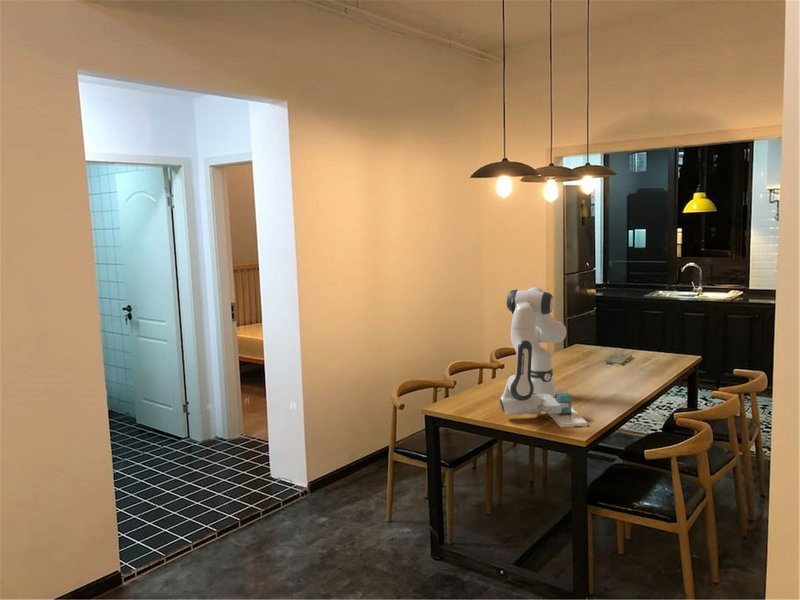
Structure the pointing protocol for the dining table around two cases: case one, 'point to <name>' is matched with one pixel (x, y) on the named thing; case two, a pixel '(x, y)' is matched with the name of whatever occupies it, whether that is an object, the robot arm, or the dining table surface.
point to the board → (568, 419)
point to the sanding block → (564, 399)
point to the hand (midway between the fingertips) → (566, 403)
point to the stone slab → (618, 358)
